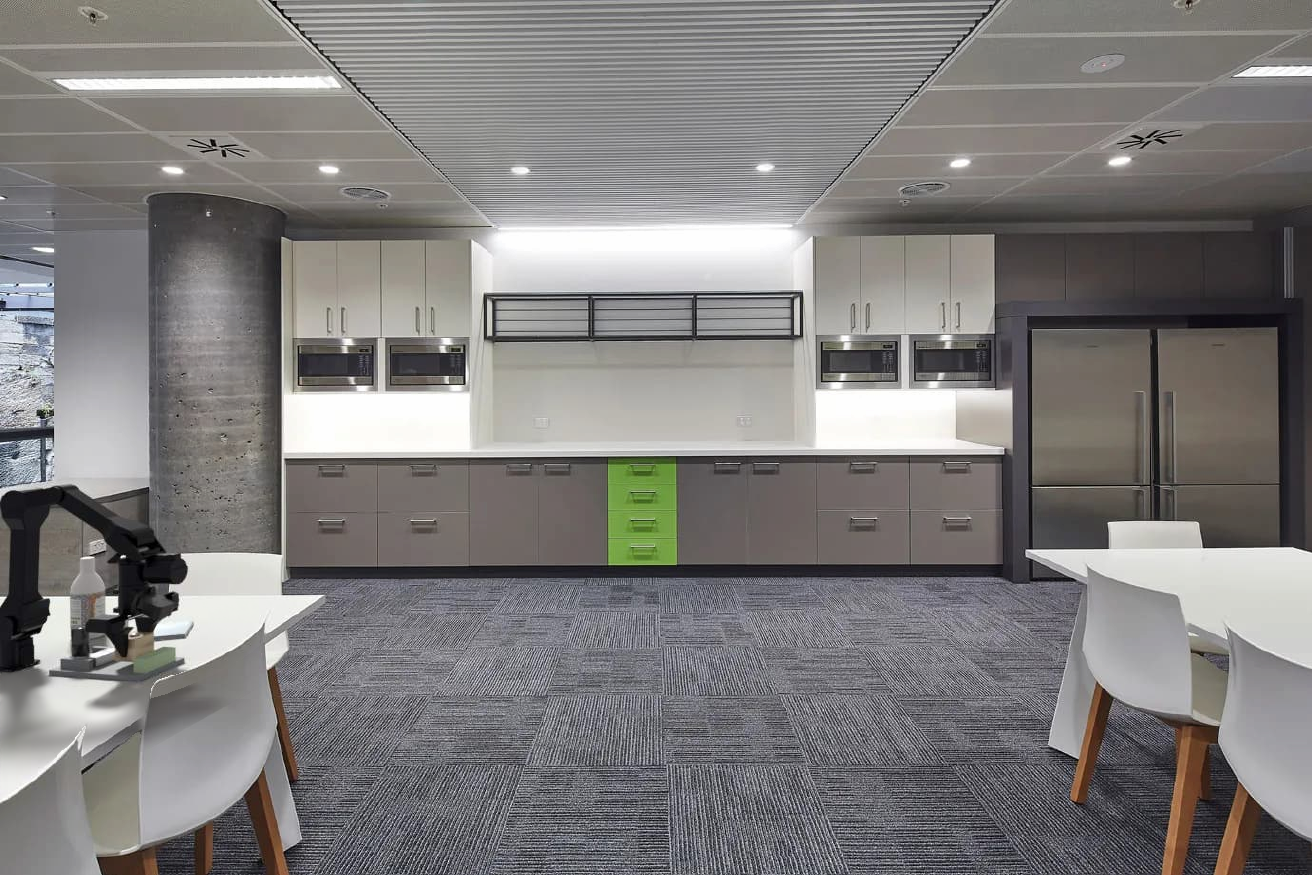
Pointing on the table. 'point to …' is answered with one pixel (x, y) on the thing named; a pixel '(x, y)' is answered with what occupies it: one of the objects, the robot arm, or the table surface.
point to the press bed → (120, 666)
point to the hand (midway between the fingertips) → (134, 652)
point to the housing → (137, 646)
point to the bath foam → (87, 596)
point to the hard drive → (172, 630)
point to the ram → (88, 648)
